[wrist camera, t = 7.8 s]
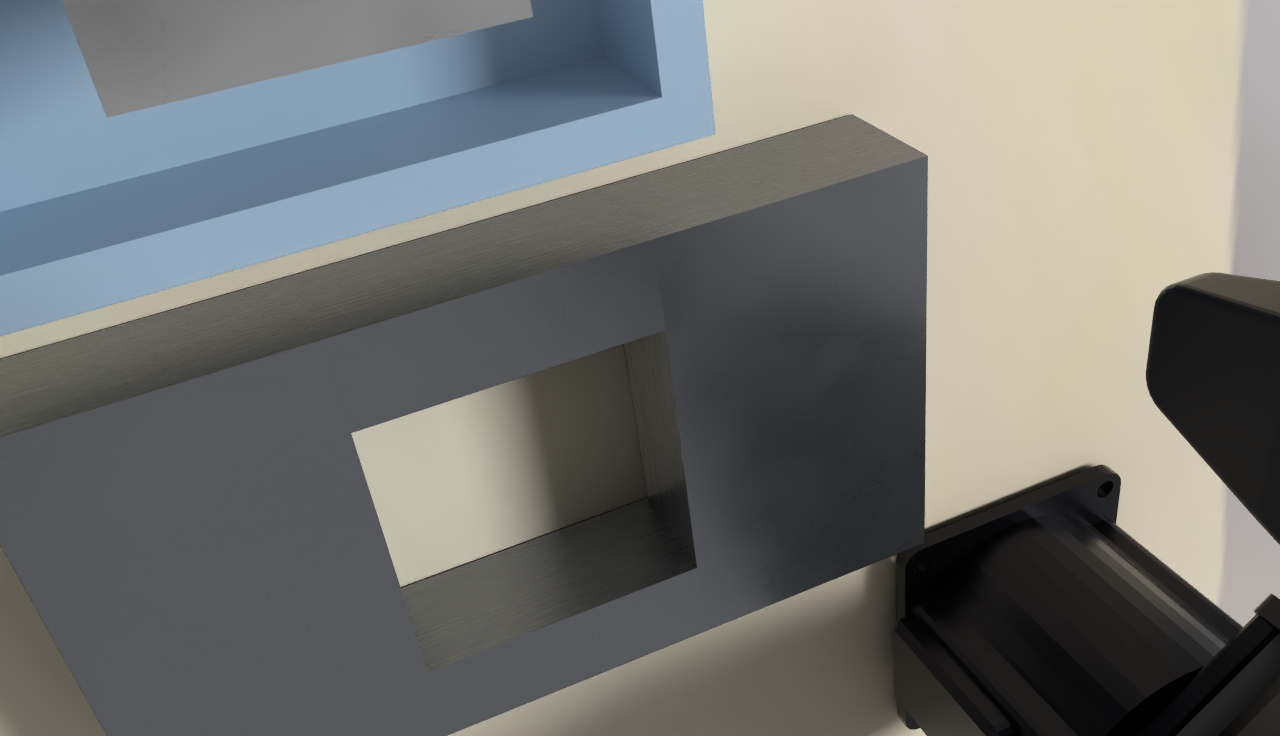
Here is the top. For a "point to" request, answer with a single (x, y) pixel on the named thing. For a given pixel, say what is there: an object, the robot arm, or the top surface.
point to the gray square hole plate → (452, 368)
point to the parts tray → (316, 144)
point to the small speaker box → (251, 39)
